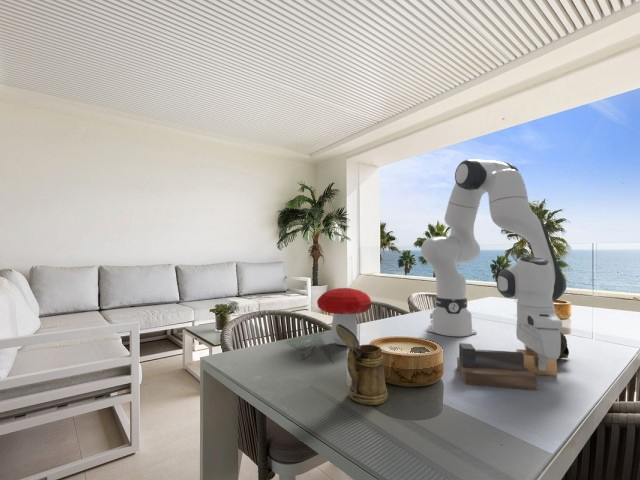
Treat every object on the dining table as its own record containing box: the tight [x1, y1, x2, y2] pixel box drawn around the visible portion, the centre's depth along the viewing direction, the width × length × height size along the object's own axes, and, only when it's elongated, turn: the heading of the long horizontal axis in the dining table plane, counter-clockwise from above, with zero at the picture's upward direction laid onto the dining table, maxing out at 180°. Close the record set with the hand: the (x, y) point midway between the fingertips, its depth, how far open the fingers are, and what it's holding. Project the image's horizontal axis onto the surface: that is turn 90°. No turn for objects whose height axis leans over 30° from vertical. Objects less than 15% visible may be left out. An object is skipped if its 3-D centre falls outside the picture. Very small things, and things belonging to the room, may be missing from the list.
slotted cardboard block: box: [515, 348, 558, 377], centre depth 94 cm, size 6×8×5 cm
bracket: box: [456, 342, 538, 391], centre depth 89 cm, size 12×16×8 cm
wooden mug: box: [336, 324, 389, 406], centre depth 76 cm, size 9×14×18 cm, turn 127°
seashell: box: [557, 331, 570, 360], centre depth 103 cm, size 11×11×10 cm
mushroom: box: [316, 287, 372, 346], centre depth 120 cm, size 20×19×20 cm
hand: (535, 365), depth 94 cm, fingers closed on slotted cardboard block, 6 cm apart
